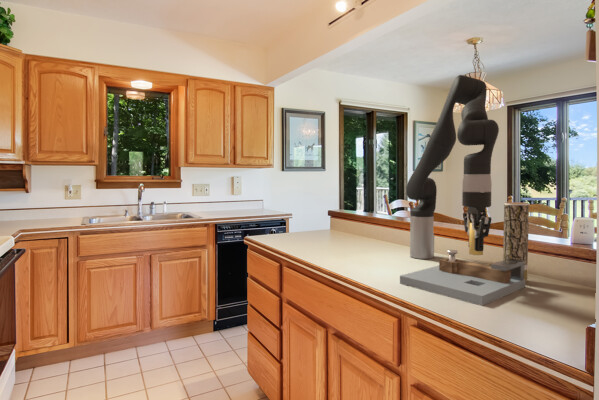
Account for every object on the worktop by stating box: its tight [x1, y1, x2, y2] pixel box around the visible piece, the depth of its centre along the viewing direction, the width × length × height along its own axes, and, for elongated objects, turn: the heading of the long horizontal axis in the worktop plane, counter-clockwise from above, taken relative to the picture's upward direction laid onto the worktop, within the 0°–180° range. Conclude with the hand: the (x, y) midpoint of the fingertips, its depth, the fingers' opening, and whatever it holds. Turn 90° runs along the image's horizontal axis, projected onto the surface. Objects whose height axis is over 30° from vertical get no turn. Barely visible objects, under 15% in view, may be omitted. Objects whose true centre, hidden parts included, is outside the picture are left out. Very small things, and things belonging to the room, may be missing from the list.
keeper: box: [490, 258, 524, 281], centre depth 108 cm, size 12×4×8 cm, turn 127°
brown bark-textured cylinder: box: [502, 201, 530, 283], centre depth 118 cm, size 7×7×25 cm
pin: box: [468, 223, 484, 256], centre depth 107 cm, size 4×4×9 cm
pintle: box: [446, 249, 458, 262], centre depth 121 cm, size 3×3×9 cm
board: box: [399, 265, 526, 306], centre depth 114 cm, size 26×26×2 cm
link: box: [438, 257, 511, 283], centre depth 116 cm, size 21×6×4 cm, turn 37°
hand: (475, 249), depth 107 cm, fingers closed on pin, 3 cm apart
